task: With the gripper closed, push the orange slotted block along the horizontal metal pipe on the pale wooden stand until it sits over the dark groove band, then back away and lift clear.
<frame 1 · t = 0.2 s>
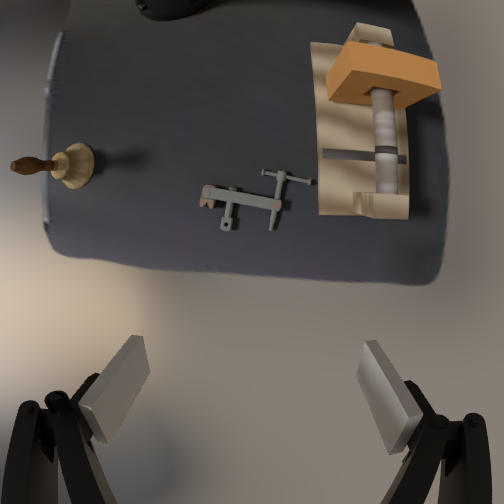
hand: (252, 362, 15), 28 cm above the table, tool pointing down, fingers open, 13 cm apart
pipe rig: (363, 125, 37), on the table
hand bell: (77, 165, 40), on the table
orange slotted block: (379, 79, 28), point 8 cm above the table, slide at 0.0 cm
clamp: (254, 200, 41), on the table
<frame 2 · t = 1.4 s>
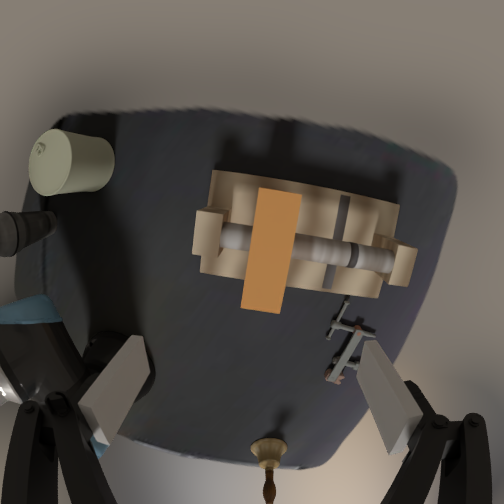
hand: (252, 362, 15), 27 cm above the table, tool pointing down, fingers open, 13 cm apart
pale green cylinder: (93, 164, 39), on the table
beverage cup: (49, 222, 42), on the table
pipe rig: (302, 236, 40), on the table
hand bell: (269, 446, 52), on the table
orange slotted block: (269, 241, 32), point 8 cm above the table, slide at 0.0 cm
clamp: (346, 342, 45), on the table
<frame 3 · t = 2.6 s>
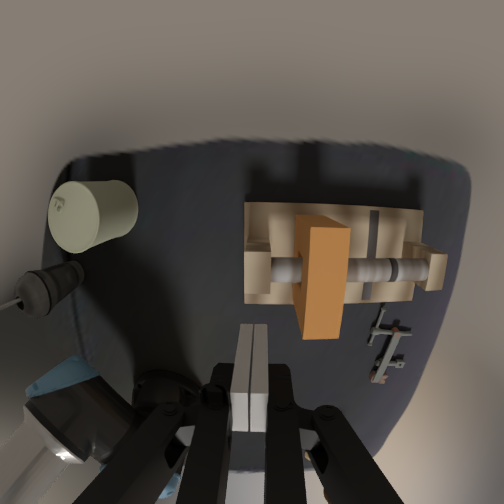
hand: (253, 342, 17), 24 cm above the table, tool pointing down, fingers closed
pale green cylinder: (114, 208, 40), on the table
beverage cup: (75, 272, 43), on the table
pipe rig: (338, 254, 41), on the table
orange slotted block: (316, 270, 33), point 8 cm above the table, slide at 0.0 cm
clamp: (386, 344, 45), on the table
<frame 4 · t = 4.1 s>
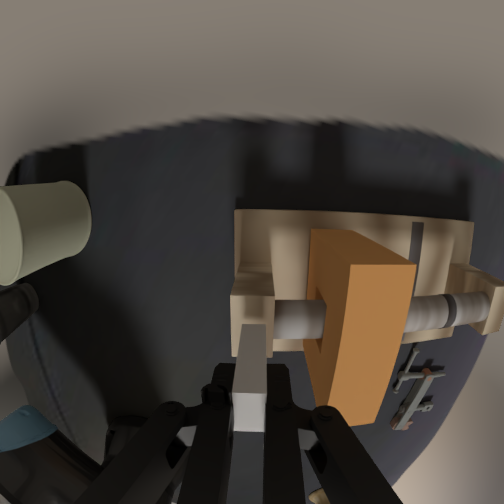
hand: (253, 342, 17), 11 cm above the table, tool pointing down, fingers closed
pale green cylinder: (64, 218, 28), on the table
beverage cup: (30, 296, 31), on the table
pipe rig: (367, 283, 28), on the table
hand bell: (328, 492, 39), on the table
orange slotted block: (343, 318, 20), point 8 cm above the table, slide at 0.0 cm
clamp: (413, 387, 32), on the table
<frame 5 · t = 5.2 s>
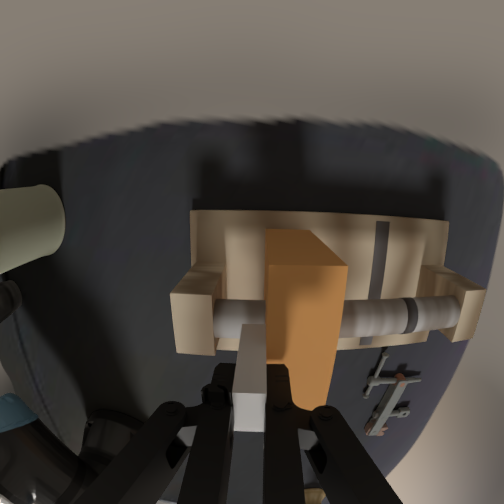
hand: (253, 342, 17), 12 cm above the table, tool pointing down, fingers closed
pale green cylinder: (42, 220, 28), on the table
beverage cup: (14, 293, 31), on the table
pipe rig: (329, 284, 28), on the table
hand bell: (306, 495, 39), on the table
orange slotted block: (290, 319, 21), point 8 cm above the table, slide at 0.2 cm, touching gripper
clamp: (387, 392, 33), on the table
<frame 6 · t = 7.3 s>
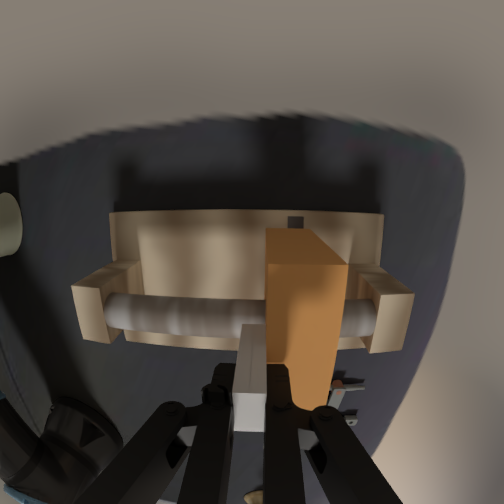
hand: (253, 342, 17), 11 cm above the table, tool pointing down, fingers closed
pale green cylinder: (7, 223, 28), on the table
pipe rig: (242, 283, 29), on the table
hand bell: (264, 496, 40), on the table
orange slotted block: (291, 319, 21), point 8 cm above the table, slide at 9.2 cm, touching gripper
clamp: (328, 398, 33), on the table
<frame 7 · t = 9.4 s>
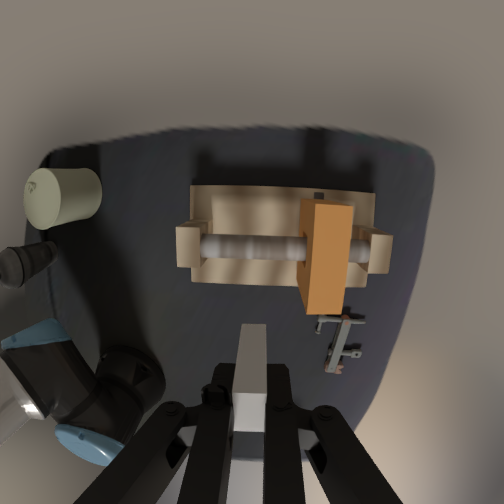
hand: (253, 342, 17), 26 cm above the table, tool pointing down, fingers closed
pale green cylinder: (83, 193, 42), on the table
beverage cup: (51, 251, 45), on the table
pipe rig: (282, 236, 42), on the table
orange slotted block: (319, 249, 34), point 8 cm above the table, slide at 9.2 cm
clamp: (339, 332, 47), on the table
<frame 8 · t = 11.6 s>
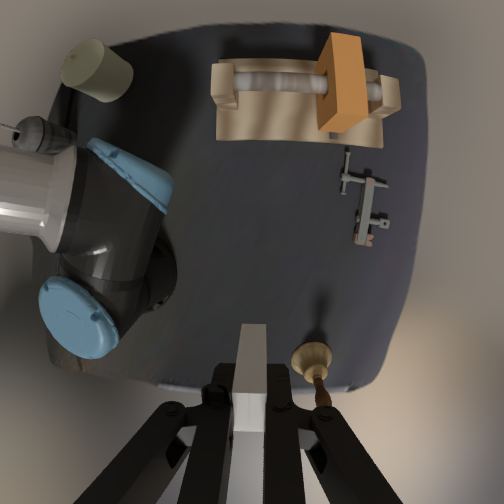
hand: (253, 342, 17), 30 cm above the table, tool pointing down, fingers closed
pale green cylinder: (113, 81, 41), on the table
beverage cup: (69, 141, 44), on the table
pipe rig: (302, 99, 41), on the table
hand bell: (311, 358, 52), on the table
orange slotted block: (338, 86, 33), point 8 cm above the table, slide at 9.2 cm
clamp: (363, 200, 45), on the table
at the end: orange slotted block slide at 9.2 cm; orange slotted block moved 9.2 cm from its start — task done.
